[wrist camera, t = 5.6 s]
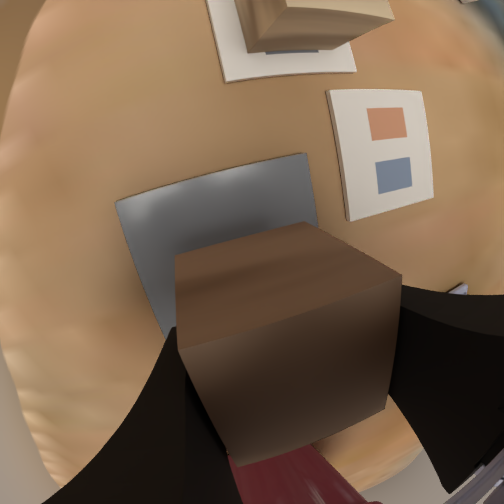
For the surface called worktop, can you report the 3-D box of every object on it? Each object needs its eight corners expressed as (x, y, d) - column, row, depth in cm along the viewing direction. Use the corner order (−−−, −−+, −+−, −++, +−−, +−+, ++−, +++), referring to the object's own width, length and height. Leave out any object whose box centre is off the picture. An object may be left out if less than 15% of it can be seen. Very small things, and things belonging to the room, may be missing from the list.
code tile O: (352, 73, 13) (357, 71, 12) (224, 83, 12) (226, 81, 11) (321, -26, 10) (324, -29, 10) (199, -28, 9) (200, -32, 9)
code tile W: (429, 196, 16) (433, 197, 16) (346, 220, 15) (350, 222, 15) (416, 91, 14) (421, 91, 14) (325, 91, 13) (329, 90, 12)
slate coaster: (323, 309, 17) (327, 312, 16) (176, 357, 15) (176, 362, 15) (301, 152, 13) (306, 152, 13) (116, 201, 12) (114, 202, 12)
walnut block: (316, 326, 12) (384, 408, 7) (209, 360, 11) (237, 467, 6) (304, 221, 10) (401, 274, 5) (174, 255, 9) (177, 349, 5)
